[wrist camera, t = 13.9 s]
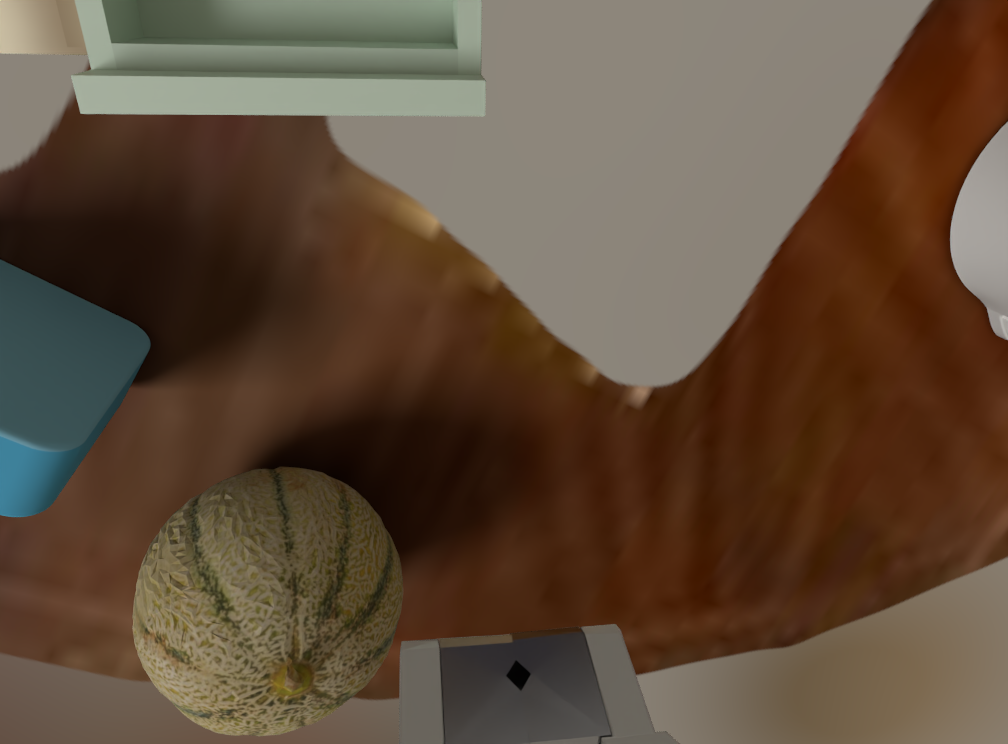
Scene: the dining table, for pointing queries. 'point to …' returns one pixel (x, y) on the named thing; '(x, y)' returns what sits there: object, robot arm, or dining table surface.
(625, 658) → the robot arm
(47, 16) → the cover plate
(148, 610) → the cantaloupe
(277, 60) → the box
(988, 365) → the dining table surface
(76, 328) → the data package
